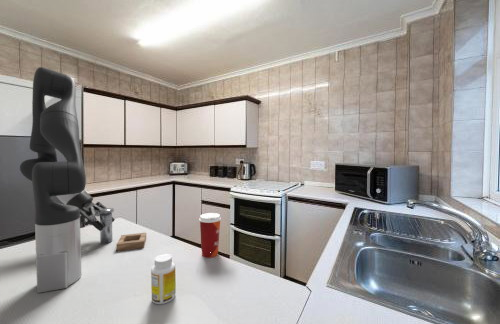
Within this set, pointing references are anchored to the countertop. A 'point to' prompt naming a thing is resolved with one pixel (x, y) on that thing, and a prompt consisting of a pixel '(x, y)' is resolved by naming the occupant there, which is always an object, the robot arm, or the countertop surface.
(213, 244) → the paper cup
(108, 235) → the pin
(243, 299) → the countertop surface
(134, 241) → the collar block
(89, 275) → the countertop surface
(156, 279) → the supplement bottle
